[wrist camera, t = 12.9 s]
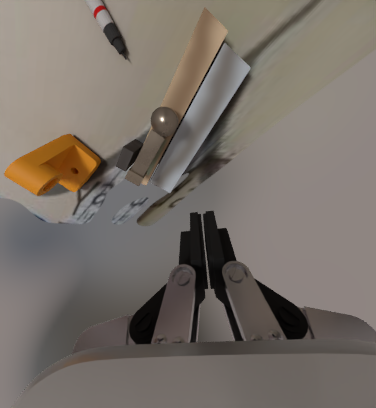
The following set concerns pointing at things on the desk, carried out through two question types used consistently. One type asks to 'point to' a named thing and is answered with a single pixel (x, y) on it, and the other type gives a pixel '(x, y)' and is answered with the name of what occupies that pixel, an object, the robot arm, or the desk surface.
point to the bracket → (54, 166)
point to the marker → (106, 24)
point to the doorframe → (201, 106)
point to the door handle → (153, 142)
